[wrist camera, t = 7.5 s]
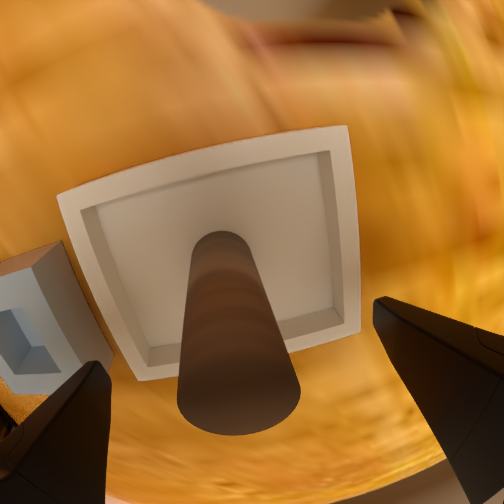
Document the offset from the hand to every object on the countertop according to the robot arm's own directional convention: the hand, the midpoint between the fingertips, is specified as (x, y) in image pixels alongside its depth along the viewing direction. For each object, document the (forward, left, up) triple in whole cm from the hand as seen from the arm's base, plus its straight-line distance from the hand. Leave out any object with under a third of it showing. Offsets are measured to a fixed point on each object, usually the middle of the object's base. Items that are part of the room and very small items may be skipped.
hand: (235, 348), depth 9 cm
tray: (0, 0, -7) cm, 7 cm away
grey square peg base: (-1, +13, -7) cm, 15 cm away
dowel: (0, 0, -7) cm, 7 cm away
